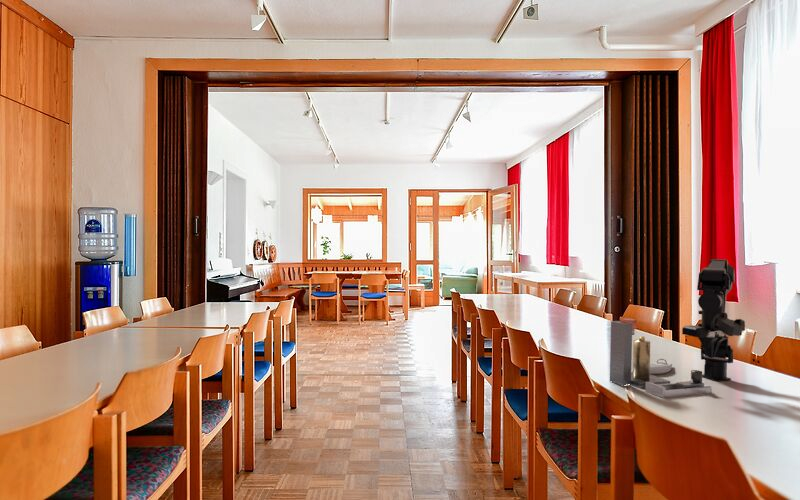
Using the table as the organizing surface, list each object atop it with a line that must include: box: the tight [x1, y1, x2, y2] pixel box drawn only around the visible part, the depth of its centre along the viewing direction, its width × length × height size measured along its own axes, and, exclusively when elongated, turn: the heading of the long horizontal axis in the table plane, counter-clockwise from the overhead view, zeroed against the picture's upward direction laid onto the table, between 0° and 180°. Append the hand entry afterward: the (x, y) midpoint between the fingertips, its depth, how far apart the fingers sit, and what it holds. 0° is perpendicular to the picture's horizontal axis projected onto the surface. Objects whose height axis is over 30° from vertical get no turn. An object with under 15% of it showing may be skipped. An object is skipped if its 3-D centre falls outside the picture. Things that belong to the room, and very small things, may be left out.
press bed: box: [609, 317, 671, 389], centre depth 156 cm, size 16×12×21 cm
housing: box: [632, 335, 651, 379], centre depth 157 cm, size 5×5×14 cm
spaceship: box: [650, 358, 673, 375], centre depth 171 cm, size 23×7×4 cm, turn 125°
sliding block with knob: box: [675, 369, 705, 390], centre depth 148 cm, size 8×3×6 cm, turn 108°
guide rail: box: [644, 382, 713, 399], centre depth 146 cm, size 20×6×3 cm, turn 108°
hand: (711, 357), depth 150 cm, fingers closed
